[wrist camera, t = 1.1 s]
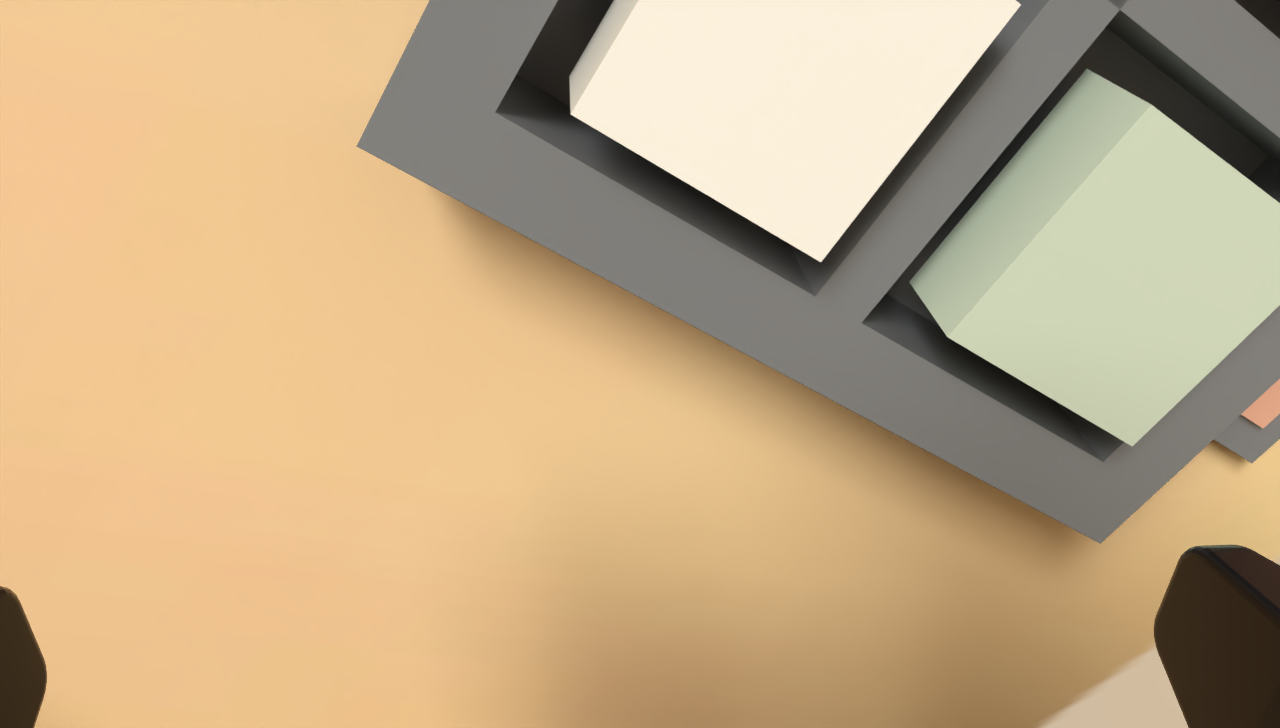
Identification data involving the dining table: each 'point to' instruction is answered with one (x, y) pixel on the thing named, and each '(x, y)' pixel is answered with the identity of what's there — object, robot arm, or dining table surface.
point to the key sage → (1108, 261)
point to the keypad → (861, 224)
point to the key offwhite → (780, 96)
